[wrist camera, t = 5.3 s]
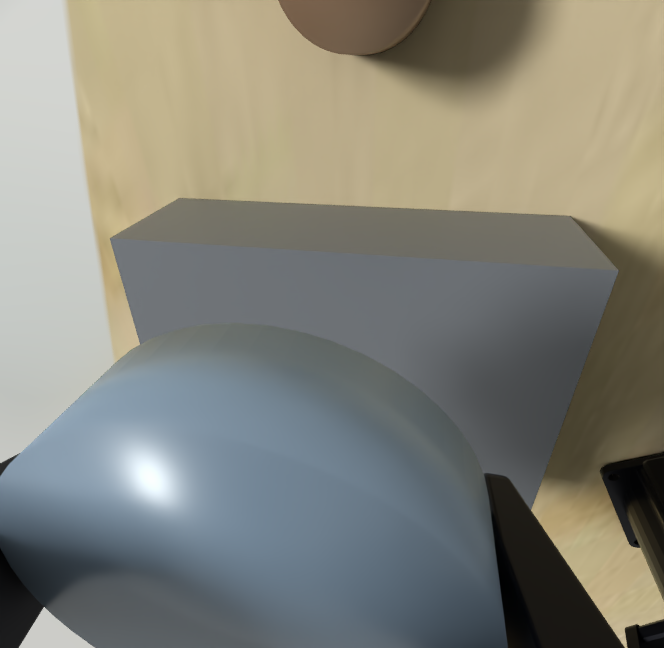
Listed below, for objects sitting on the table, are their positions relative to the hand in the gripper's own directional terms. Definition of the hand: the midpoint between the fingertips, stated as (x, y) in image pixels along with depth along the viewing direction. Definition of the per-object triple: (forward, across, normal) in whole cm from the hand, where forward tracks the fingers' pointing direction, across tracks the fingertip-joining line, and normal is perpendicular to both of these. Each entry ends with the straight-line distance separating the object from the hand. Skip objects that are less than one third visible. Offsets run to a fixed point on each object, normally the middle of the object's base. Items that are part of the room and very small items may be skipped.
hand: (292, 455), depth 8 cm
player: (+12, 0, +5) cm, 13 cm away
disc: (-1, 0, 0) cm, 1 cm away
